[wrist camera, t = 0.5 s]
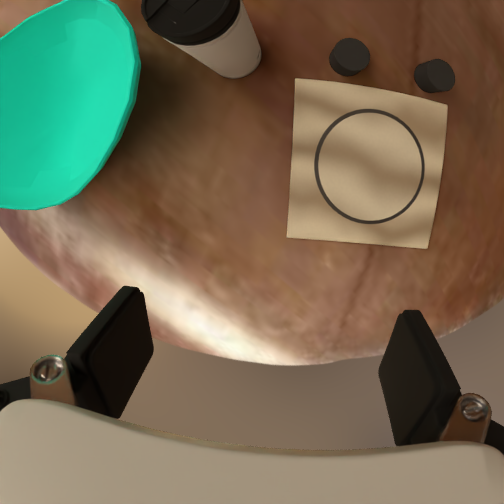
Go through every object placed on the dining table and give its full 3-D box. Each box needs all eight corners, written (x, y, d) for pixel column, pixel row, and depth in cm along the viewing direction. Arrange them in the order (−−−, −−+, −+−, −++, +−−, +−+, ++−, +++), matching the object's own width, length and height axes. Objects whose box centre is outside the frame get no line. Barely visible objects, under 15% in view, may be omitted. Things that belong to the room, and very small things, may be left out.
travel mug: (274, 53, 30) (260, -19, 12) (234, 88, 32) (177, 53, 14) (238, 22, 29) (190, -60, 10) (199, 57, 31) (116, 6, 13)
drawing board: (294, 78, 31) (295, 77, 31) (446, 105, 29) (448, 105, 29) (286, 236, 39) (286, 237, 39) (426, 247, 37) (427, 249, 37)
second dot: (414, 60, 28) (426, 55, 24) (440, 68, 27) (454, 64, 24) (413, 89, 29) (426, 86, 26) (440, 96, 29) (455, 94, 25)
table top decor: (186, -13, 27) (145, -57, 15) (191, 184, 38) (147, 214, 26) (-5, 65, 31) (-57, 68, 19) (4, 202, 42) (-46, 227, 30)
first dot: (329, 44, 29) (334, 35, 25) (361, 48, 28) (370, 41, 25) (329, 73, 30) (333, 68, 27) (361, 78, 30) (370, 73, 26)
